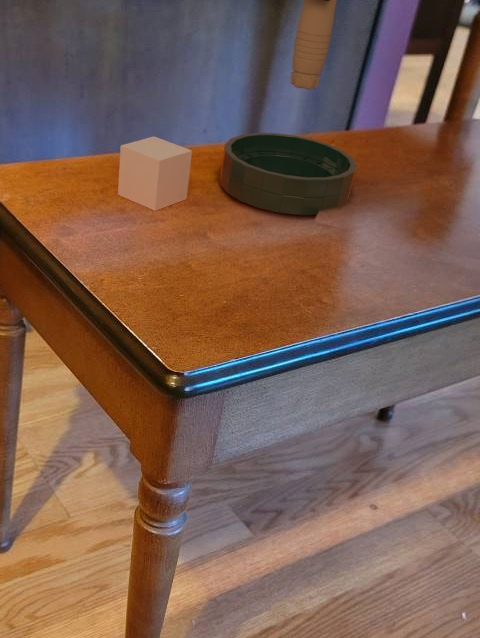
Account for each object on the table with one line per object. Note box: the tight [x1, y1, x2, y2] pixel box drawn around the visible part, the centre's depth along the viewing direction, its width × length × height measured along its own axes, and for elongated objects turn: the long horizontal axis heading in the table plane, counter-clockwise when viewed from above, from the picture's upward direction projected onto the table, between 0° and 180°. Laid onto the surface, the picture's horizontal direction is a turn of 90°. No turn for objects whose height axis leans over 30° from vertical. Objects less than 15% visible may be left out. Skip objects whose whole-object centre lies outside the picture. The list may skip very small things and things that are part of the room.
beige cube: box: [117, 136, 193, 212], centre depth 89 cm, size 6×6×6 cm
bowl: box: [219, 132, 358, 216], centre depth 95 cm, size 17×17×5 cm
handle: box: [290, 0, 338, 90], centre depth 84 cm, size 5×6×15 cm
